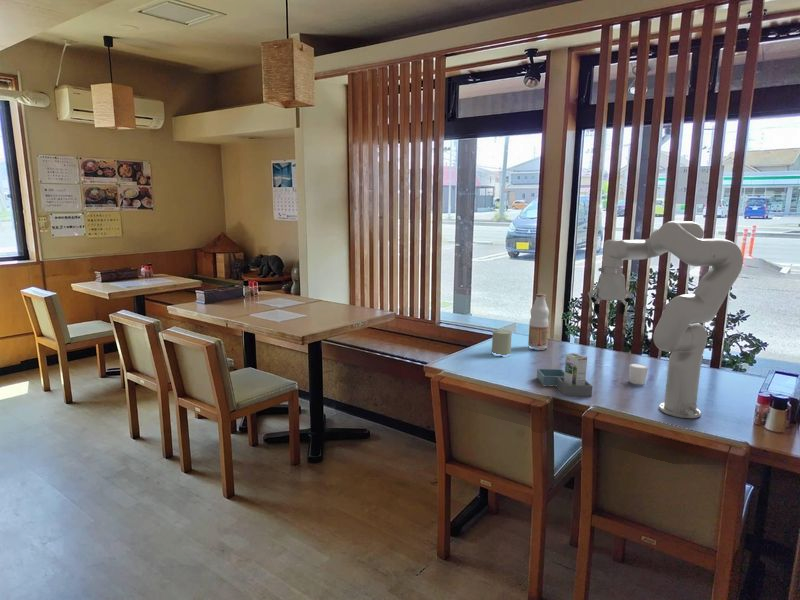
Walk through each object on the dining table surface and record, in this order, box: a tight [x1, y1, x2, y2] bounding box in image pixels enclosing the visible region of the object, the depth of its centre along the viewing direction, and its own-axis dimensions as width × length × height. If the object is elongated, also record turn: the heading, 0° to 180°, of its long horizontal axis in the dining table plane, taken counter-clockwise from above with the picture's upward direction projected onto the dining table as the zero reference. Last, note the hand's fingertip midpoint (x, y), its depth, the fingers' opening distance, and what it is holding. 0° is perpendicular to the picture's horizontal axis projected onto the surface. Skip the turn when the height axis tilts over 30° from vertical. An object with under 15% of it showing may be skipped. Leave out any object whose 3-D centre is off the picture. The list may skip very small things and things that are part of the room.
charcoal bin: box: [556, 377, 593, 397], centre depth 192 cm, size 10×10×4 cm
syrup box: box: [564, 352, 588, 386], centre depth 192 cm, size 6×6×14 cm
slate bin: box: [536, 368, 565, 386], centre depth 203 cm, size 10×10×4 cm
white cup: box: [628, 363, 649, 386], centre depth 205 cm, size 7×7×7 cm
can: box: [491, 329, 513, 355], centre depth 243 cm, size 9×9×12 cm
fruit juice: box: [527, 293, 550, 349], centre depth 255 cm, size 9×9×28 cm
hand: (608, 313), depth 203 cm, fingers open, 9 cm apart
